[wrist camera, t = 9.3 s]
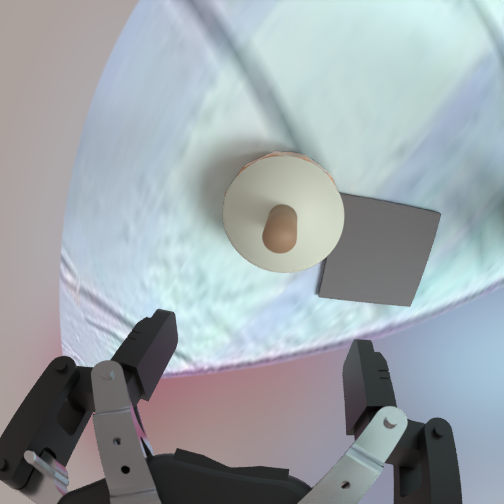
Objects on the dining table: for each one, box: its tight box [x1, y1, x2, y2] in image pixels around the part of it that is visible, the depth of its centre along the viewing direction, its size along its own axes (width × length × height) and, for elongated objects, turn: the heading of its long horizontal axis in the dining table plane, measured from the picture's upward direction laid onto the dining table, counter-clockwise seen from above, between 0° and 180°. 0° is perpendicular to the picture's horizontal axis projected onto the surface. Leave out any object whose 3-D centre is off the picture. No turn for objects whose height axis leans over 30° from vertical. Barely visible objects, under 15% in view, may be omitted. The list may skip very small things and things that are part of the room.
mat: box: [319, 193, 441, 307], centre depth 33 cm, size 14×14×1 cm
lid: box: [223, 156, 344, 273], centre depth 25 cm, size 12×12×6 cm
